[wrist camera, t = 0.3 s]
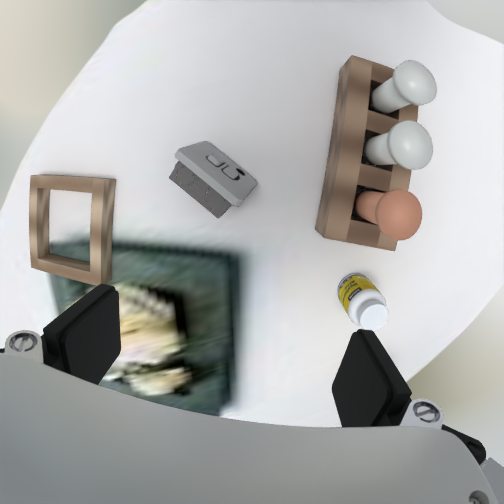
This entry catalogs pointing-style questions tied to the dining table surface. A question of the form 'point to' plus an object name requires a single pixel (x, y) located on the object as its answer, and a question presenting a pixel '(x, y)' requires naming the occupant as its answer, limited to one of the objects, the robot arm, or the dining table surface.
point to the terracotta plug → (390, 212)
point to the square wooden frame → (99, 227)
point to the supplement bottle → (363, 302)
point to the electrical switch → (211, 177)
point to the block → (359, 156)
